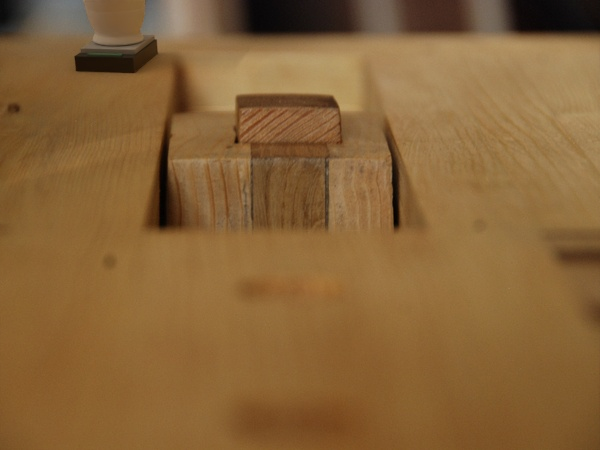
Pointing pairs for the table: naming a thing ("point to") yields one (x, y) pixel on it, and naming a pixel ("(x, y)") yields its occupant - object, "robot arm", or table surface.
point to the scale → (116, 56)
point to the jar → (116, 21)
